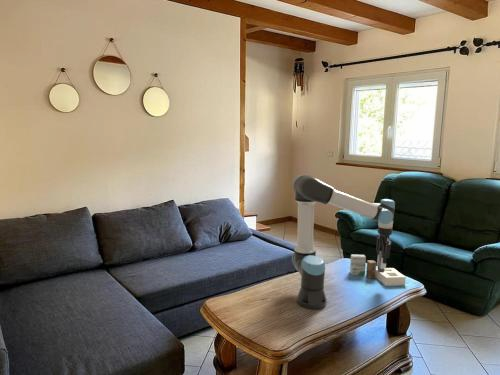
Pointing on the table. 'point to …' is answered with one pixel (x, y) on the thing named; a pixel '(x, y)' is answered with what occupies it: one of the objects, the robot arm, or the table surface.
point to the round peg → (380, 261)
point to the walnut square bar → (371, 269)
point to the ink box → (357, 264)
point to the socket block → (390, 277)
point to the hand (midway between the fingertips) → (381, 266)
